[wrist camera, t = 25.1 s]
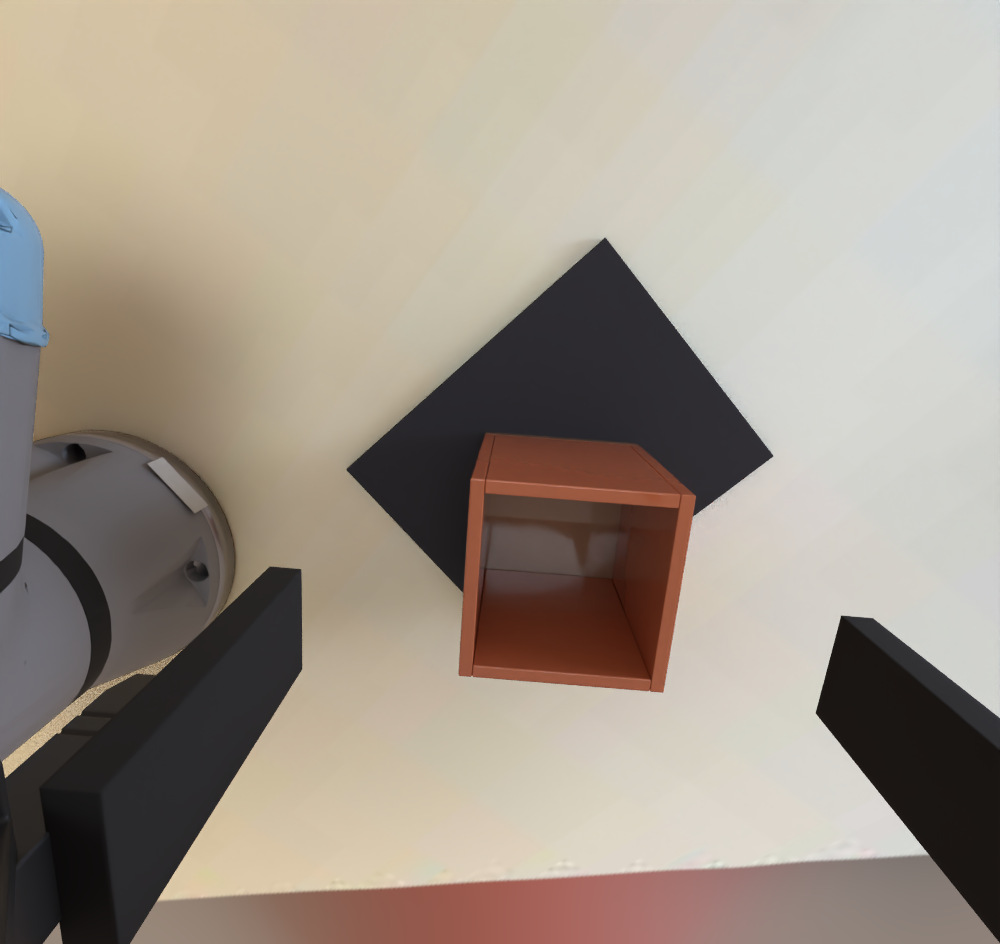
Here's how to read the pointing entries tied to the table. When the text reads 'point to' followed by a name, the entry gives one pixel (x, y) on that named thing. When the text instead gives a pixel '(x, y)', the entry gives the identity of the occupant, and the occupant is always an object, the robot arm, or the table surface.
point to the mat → (562, 405)
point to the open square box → (572, 563)
